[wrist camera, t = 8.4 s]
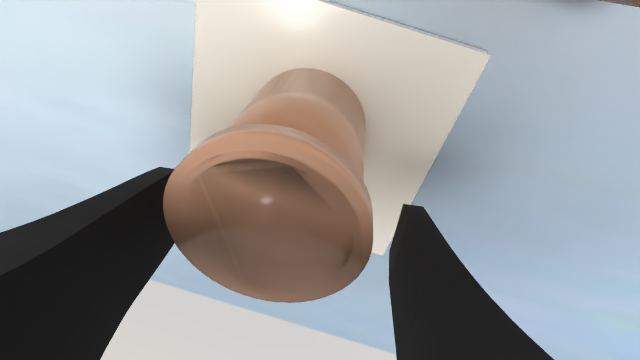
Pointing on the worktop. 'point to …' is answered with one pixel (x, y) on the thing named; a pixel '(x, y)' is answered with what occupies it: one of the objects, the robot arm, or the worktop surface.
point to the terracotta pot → (279, 193)
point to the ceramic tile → (352, 68)
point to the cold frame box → (625, 2)
